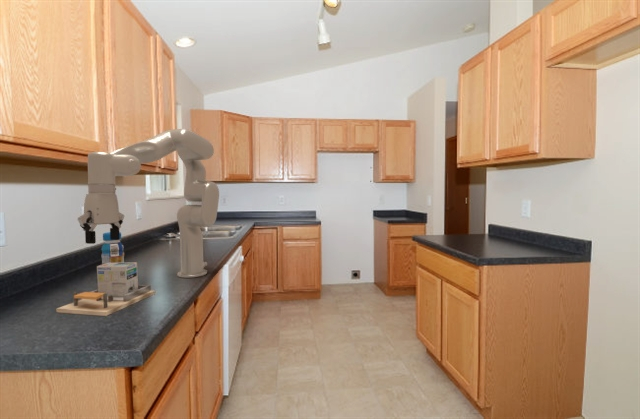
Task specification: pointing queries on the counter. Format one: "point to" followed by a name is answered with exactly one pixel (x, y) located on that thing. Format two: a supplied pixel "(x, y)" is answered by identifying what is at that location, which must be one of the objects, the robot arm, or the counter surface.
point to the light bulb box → (117, 278)
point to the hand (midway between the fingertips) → (103, 241)
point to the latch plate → (89, 295)
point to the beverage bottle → (112, 250)
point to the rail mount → (106, 302)
